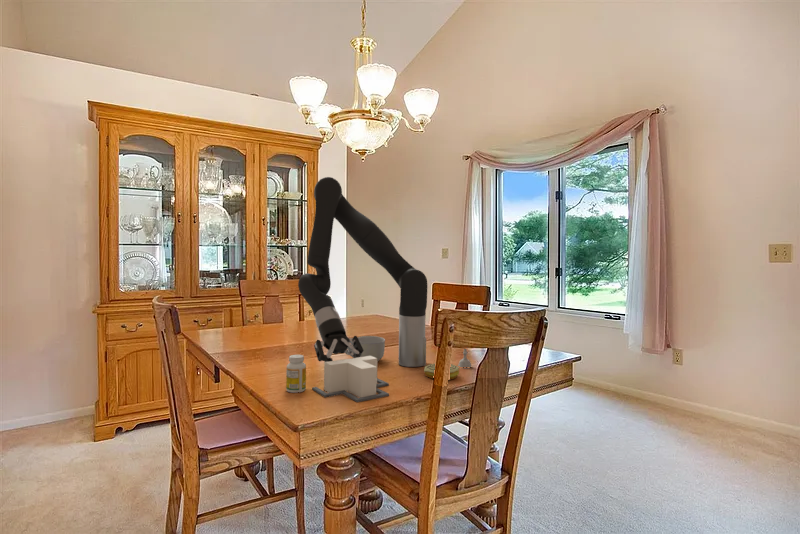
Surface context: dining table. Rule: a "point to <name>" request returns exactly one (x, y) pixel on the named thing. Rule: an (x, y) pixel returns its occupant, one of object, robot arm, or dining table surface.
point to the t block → (351, 376)
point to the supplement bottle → (296, 374)
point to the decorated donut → (430, 369)
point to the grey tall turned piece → (465, 360)
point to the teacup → (372, 346)
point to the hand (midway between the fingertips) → (346, 369)
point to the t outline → (356, 399)
